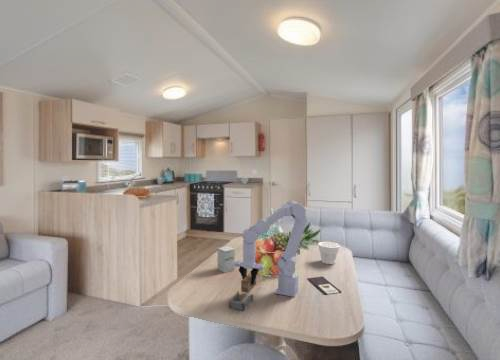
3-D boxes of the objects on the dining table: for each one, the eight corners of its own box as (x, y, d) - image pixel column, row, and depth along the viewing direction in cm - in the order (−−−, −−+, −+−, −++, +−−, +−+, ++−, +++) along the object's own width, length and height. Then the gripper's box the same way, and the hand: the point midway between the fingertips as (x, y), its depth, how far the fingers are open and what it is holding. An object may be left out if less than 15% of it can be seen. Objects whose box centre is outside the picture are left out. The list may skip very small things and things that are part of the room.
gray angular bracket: (253, 300, 130) (253, 294, 129) (245, 311, 121) (245, 304, 120) (237, 297, 133) (237, 291, 133) (227, 307, 124) (227, 300, 124)
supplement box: (224, 273, 160) (224, 251, 159) (217, 269, 166) (217, 247, 165) (235, 270, 165) (235, 248, 164) (227, 266, 171) (227, 245, 170)
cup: (336, 267, 170) (336, 248, 169) (315, 263, 176) (316, 245, 175) (340, 260, 181) (341, 243, 180) (321, 257, 187) (321, 240, 186)
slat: (249, 282, 140) (249, 272, 140) (256, 283, 139) (256, 274, 138) (241, 291, 131) (241, 280, 131) (248, 292, 130) (248, 282, 129)
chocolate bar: (322, 276, 155) (341, 291, 138) (322, 278, 155) (341, 293, 138) (307, 278, 153) (324, 293, 136) (307, 280, 153) (324, 295, 136)
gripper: (231, 255, 133) (231, 283, 134) (260, 259, 127) (260, 289, 128) (237, 250, 139) (237, 277, 140) (266, 254, 134) (265, 283, 135)
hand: (248, 283), depth 135 cm, fingers closed on slat, 3 cm apart
